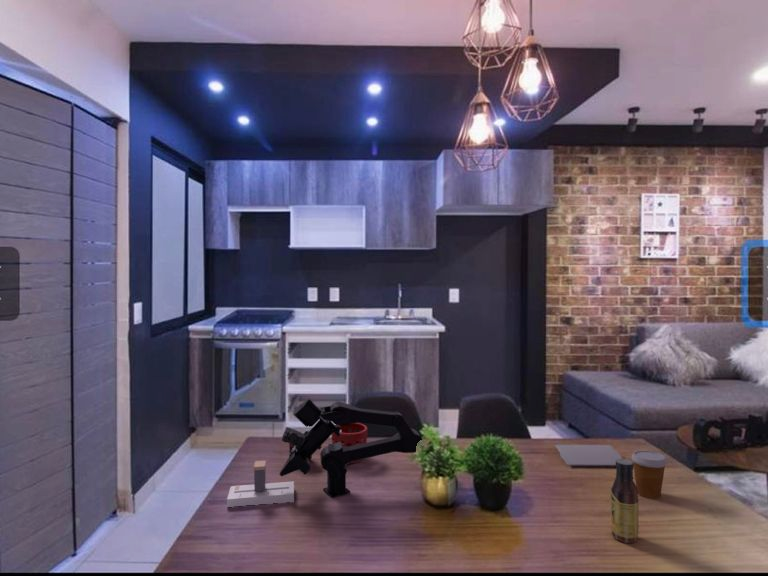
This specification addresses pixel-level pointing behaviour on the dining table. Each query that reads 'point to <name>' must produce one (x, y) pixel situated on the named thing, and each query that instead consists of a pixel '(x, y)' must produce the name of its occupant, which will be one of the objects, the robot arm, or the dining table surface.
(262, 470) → the slider handle
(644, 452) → the disposable coffee cup
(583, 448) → the book
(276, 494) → the dimmer panel
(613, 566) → the dining table surface
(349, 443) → the plant pot
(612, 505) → the sauce bottle
